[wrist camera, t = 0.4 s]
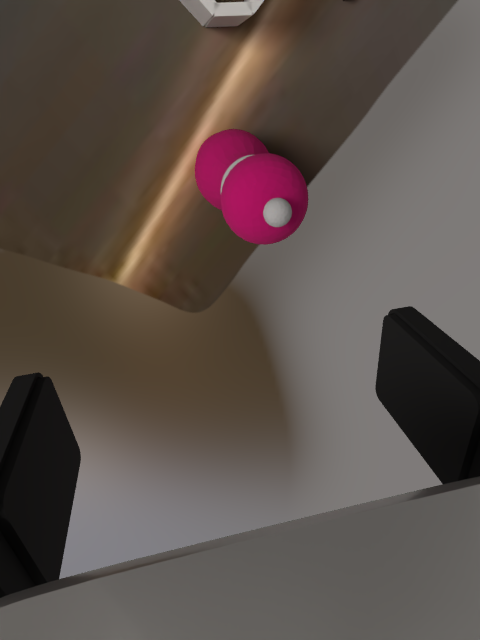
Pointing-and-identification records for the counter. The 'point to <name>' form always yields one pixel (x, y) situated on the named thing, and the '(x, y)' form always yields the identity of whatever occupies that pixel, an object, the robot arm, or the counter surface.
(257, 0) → the white hollow octagonal tube
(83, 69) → the counter surface
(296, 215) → the pepper mill
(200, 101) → the counter surface
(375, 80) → the counter surface
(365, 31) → the counter surface
